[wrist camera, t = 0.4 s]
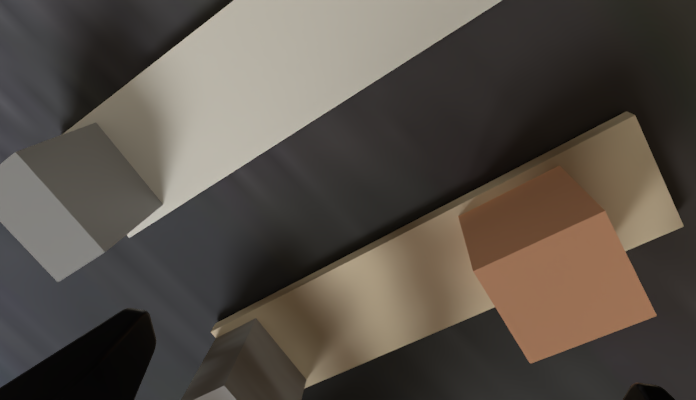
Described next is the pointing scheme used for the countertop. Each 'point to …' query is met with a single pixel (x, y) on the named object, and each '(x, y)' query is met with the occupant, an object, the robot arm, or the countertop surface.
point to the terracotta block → (553, 265)
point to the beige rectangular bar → (416, 277)
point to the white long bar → (207, 115)
